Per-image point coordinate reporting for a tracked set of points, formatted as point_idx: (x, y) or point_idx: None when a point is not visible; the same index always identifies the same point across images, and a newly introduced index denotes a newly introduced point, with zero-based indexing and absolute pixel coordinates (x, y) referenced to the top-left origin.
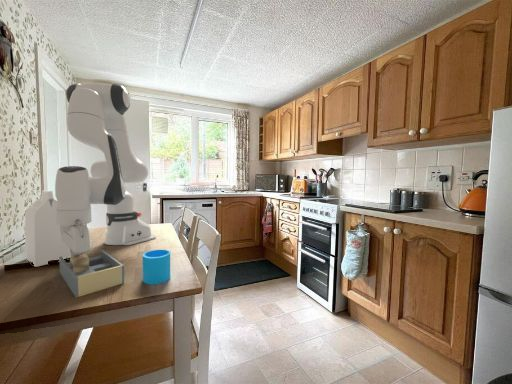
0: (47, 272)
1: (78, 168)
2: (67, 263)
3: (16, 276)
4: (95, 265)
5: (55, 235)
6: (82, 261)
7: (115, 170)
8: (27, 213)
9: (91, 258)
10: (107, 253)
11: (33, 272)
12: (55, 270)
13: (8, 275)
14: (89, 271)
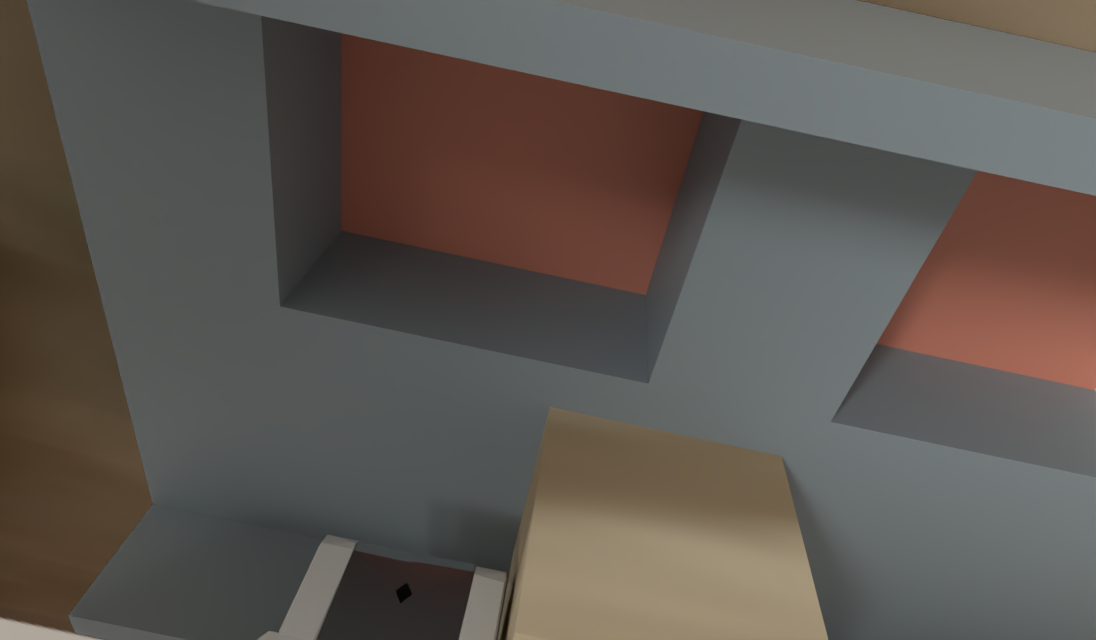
0: (110, 467)
1: None
2: (185, 469)
3: (69, 594)
4: (678, 313)
5: None
6: None
7: None
8: None
9: (129, 145)
10: (599, 22)
11: (28, 517)
12: (85, 411)
13: (3, 606)
14: (870, 486)
